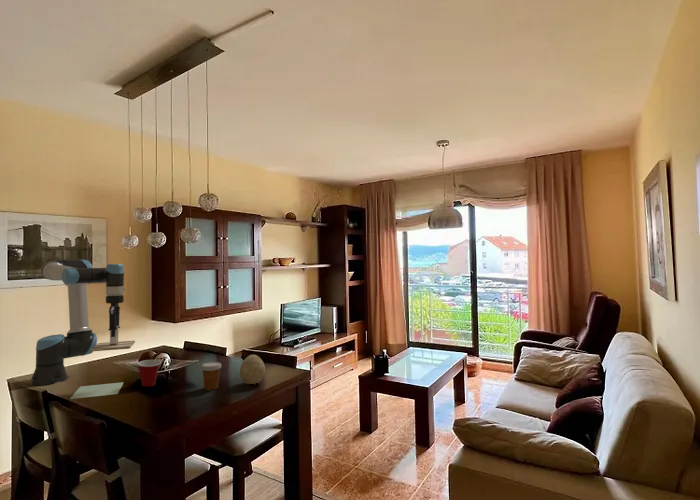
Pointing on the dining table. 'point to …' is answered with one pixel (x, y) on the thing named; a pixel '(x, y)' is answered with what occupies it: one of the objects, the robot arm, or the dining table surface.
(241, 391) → the dining table surface
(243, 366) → the fossilized egg
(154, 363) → the plastic cup
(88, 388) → the mat
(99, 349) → the cover
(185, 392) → the dining table surface
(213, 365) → the disposable coffee cup
